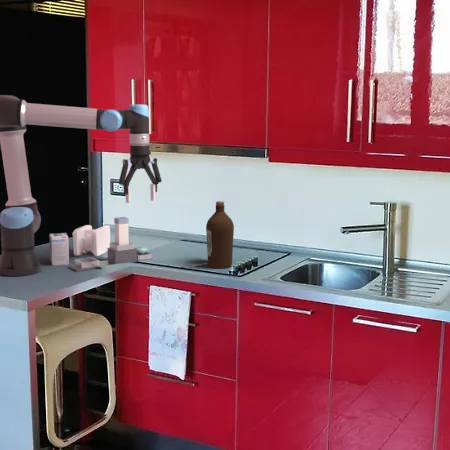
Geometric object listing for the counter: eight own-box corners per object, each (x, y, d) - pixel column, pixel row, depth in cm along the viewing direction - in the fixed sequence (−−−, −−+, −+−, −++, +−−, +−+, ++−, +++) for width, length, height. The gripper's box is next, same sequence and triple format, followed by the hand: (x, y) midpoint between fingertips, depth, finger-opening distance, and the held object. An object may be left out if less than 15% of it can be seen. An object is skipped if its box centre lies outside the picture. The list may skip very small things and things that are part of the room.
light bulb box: (50, 259, 278) (48, 233, 276) (67, 258, 280) (66, 232, 278) (52, 265, 268) (51, 238, 266) (69, 264, 270) (68, 237, 268)
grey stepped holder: (77, 271, 258) (76, 250, 257) (69, 267, 265) (69, 247, 263) (154, 261, 275) (153, 241, 274) (145, 257, 282) (145, 238, 280)
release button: (139, 253, 273) (139, 250, 273) (134, 251, 277) (134, 248, 276) (149, 252, 275) (149, 248, 275) (144, 250, 279) (144, 246, 279)
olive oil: (231, 262, 274) (231, 199, 270) (235, 268, 264) (235, 203, 259) (204, 263, 273) (204, 200, 268) (207, 269, 262) (207, 204, 258)
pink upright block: (119, 249, 268) (118, 219, 266) (113, 247, 273) (113, 217, 270) (129, 248, 271) (128, 218, 268) (123, 246, 275) (122, 216, 273)
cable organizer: (96, 259, 279) (95, 231, 277) (72, 258, 281) (71, 229, 279) (111, 251, 293) (110, 224, 291) (88, 250, 296) (87, 223, 294)
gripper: (116, 146, 260) (118, 205, 263) (170, 144, 272) (170, 200, 276) (108, 145, 266) (110, 202, 270) (161, 143, 278) (161, 198, 282)
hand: (140, 201), depth 273 cm, fingers open, 10 cm apart
